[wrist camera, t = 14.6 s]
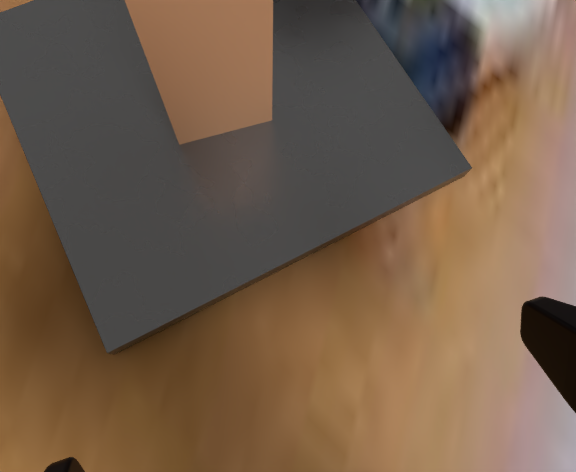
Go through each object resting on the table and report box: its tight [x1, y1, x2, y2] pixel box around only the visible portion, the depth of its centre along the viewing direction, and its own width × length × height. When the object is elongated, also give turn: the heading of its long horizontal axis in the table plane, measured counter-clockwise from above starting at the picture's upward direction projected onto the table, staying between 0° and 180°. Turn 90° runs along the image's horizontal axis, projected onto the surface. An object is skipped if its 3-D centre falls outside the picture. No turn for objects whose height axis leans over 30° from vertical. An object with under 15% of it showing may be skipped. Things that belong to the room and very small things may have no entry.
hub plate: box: [0, 0, 472, 354], centre depth 24 cm, size 20×20×6 cm
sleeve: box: [125, 0, 273, 145], centre depth 20 cm, size 5×5×11 cm
